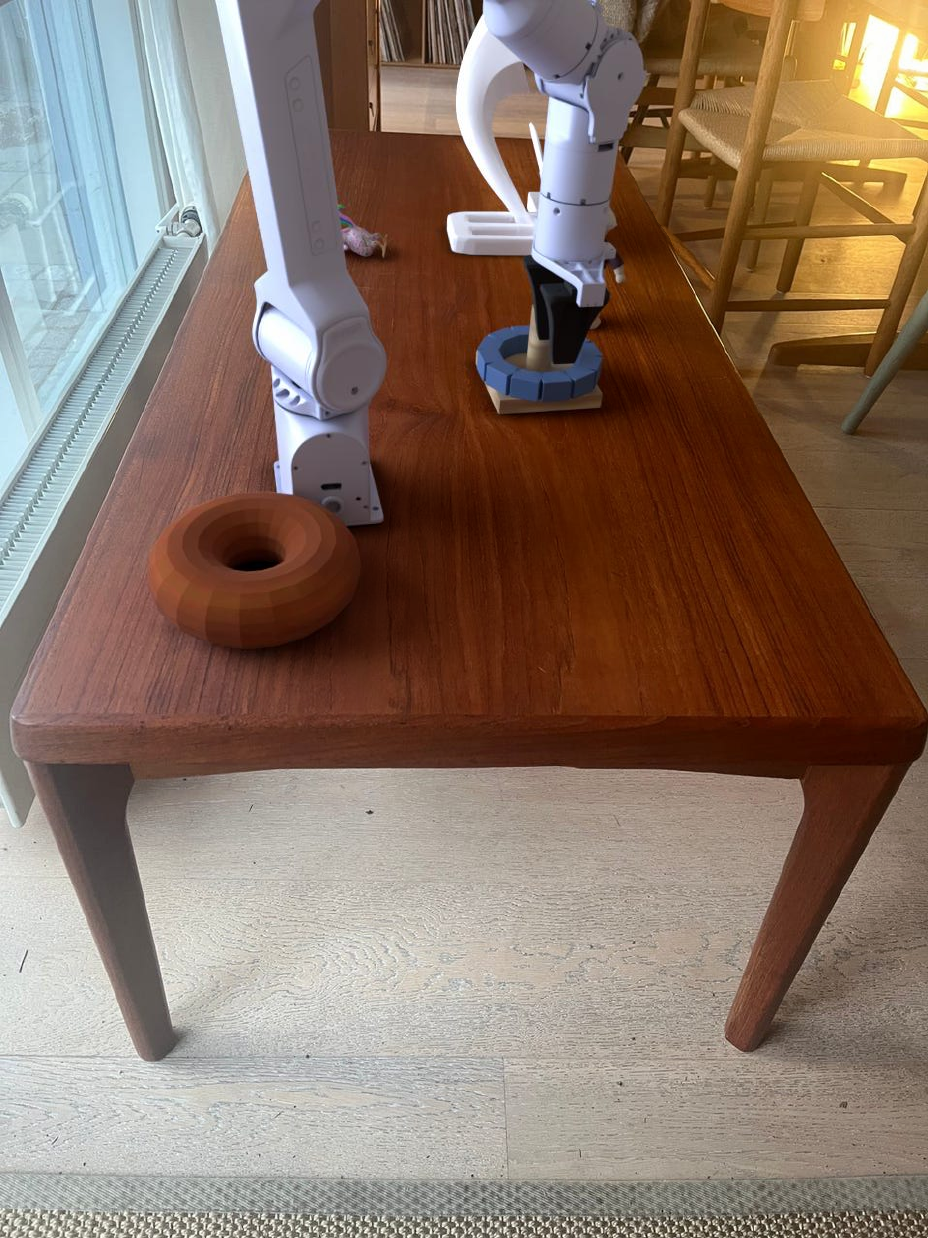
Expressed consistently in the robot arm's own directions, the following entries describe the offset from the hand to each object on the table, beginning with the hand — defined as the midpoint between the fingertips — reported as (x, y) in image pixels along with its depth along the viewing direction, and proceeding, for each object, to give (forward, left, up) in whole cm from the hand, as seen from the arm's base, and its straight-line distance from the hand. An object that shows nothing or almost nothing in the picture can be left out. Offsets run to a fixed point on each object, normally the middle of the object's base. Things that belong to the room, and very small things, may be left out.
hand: (556, 349), depth 88 cm
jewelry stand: (+47, -7, -6) cm, 48 cm away
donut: (-22, +28, -6) cm, 36 cm away
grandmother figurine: (+18, -9, -6) cm, 21 cm away
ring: (+5, 0, -5) cm, 7 cm away
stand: (+5, 0, -6) cm, 8 cm away
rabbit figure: (+40, +17, -6) cm, 44 cm away
